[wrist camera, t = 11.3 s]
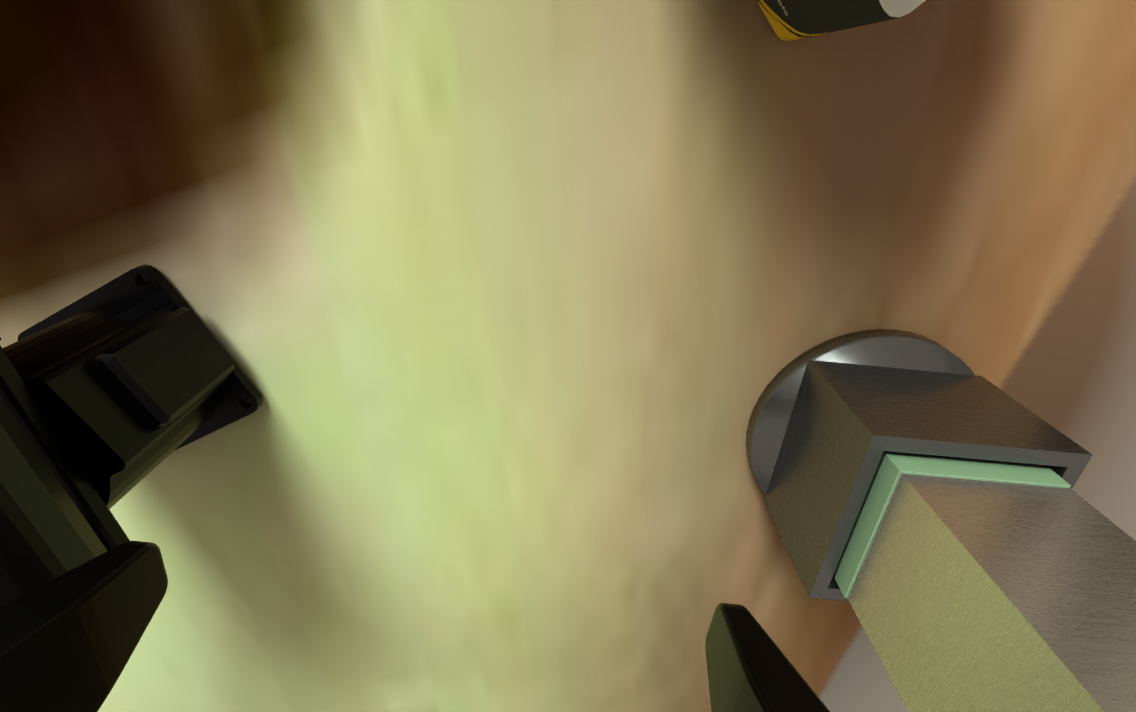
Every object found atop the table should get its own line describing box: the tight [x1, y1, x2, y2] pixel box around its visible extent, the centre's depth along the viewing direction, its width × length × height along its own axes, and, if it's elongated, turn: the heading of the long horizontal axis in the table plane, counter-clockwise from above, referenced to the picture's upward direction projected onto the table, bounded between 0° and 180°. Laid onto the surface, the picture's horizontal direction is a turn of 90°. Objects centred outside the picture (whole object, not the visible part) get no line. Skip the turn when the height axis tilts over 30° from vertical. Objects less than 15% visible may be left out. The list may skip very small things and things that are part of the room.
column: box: [834, 451, 1136, 712], centre depth 14 cm, size 5×5×12 cm
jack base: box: [746, 329, 1092, 601], centre depth 21 cm, size 9×9×6 cm
